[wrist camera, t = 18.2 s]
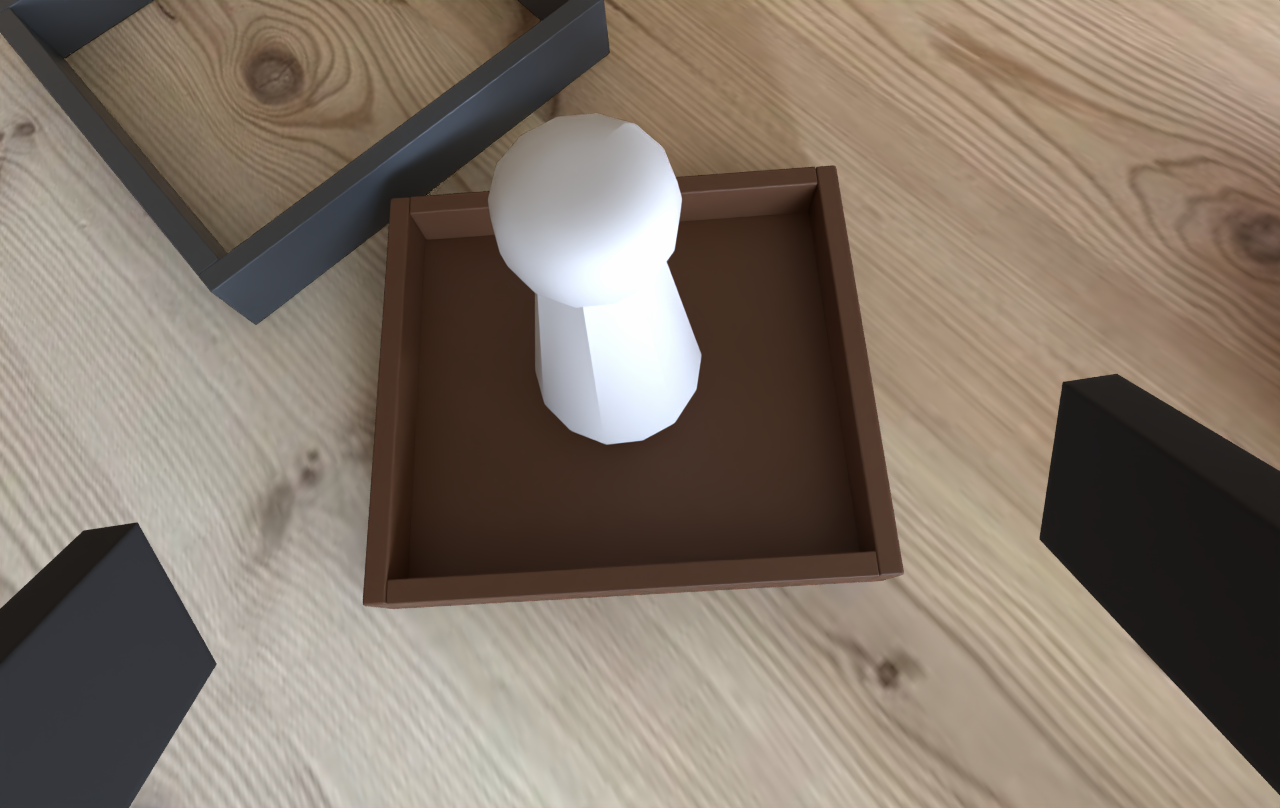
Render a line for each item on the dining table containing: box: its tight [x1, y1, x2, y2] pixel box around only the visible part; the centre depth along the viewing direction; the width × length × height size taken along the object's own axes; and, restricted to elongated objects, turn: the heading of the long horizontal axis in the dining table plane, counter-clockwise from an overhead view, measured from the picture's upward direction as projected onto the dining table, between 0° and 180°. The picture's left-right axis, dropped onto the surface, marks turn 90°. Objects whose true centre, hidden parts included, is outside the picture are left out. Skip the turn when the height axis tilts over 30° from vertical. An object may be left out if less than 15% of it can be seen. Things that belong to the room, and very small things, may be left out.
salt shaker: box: [488, 113, 701, 445], centre depth 21 cm, size 6×6×13 cm
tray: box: [363, 166, 904, 609], centre depth 26 cm, size 18×16×3 cm
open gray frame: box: [0, 0, 610, 325], centre depth 32 cm, size 20×20×3 cm
